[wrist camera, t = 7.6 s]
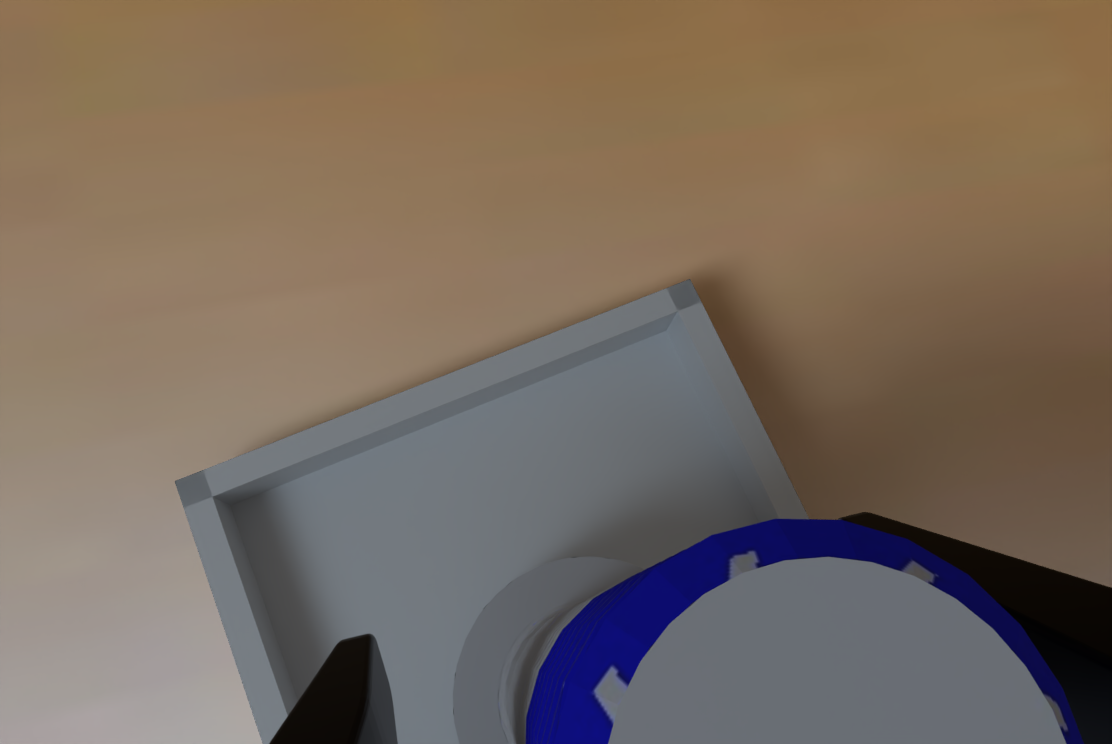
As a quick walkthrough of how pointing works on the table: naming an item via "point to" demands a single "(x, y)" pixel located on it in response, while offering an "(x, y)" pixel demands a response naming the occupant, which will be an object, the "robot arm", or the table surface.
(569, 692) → the bolt
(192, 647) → the table surface
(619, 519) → the tray
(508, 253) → the table surface
